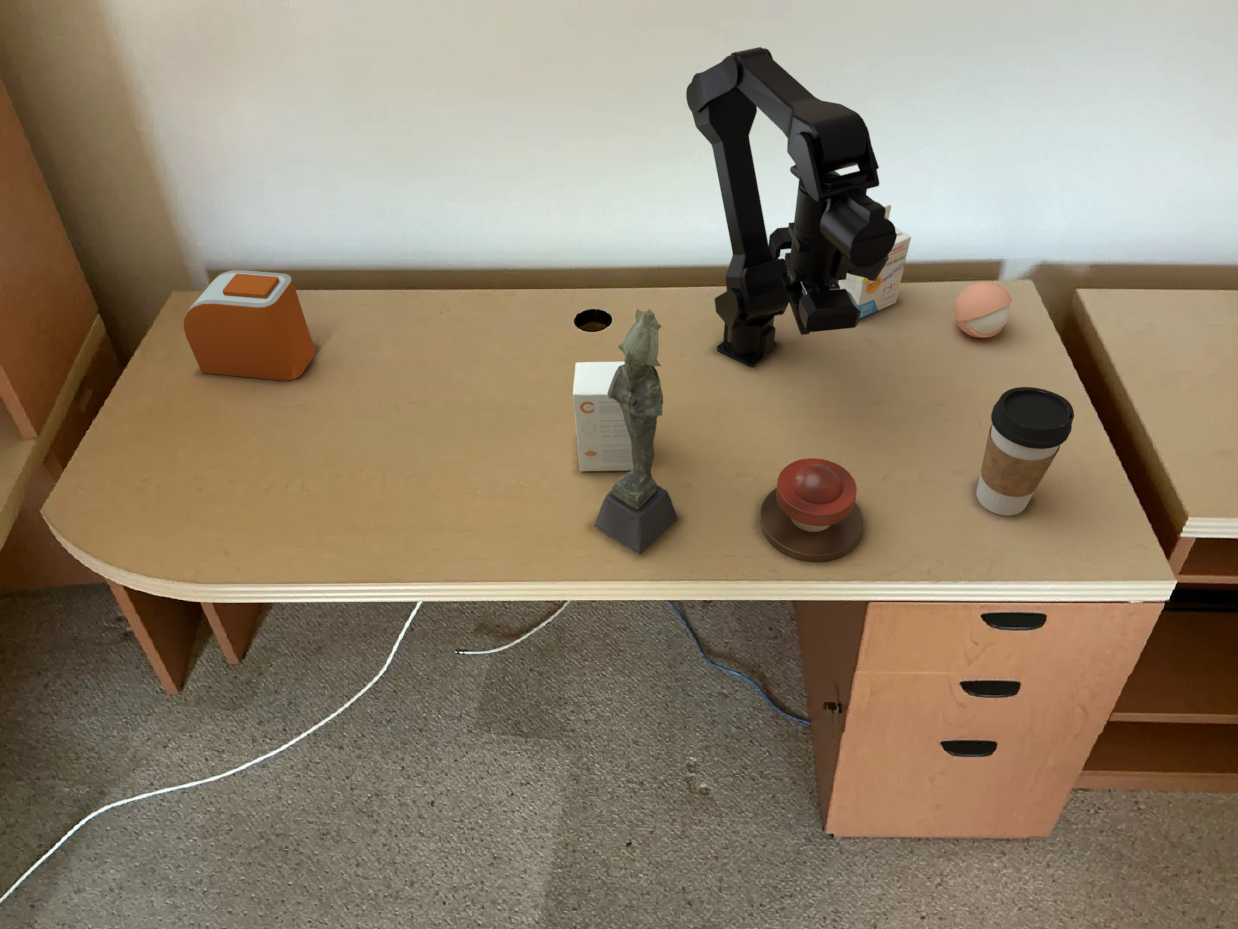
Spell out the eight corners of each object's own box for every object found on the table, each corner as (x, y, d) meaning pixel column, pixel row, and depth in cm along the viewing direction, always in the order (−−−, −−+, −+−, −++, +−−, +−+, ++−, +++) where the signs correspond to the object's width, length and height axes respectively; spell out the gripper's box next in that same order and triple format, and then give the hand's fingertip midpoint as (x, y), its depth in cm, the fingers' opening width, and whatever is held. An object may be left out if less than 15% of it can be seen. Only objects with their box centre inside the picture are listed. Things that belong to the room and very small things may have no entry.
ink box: (856, 322, 140) (872, 235, 129) (833, 306, 143) (847, 220, 132) (897, 303, 143) (916, 216, 132) (874, 287, 146) (891, 202, 135)
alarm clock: (320, 346, 139) (296, 268, 130) (297, 382, 133) (269, 303, 124) (228, 337, 141) (197, 260, 132) (201, 373, 136) (166, 295, 126)
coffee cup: (1027, 534, 110) (1066, 441, 99) (955, 506, 113) (987, 414, 103) (1045, 489, 115) (1085, 396, 104) (977, 464, 118) (1008, 372, 108)
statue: (593, 527, 113) (578, 324, 91) (633, 491, 117) (627, 289, 95) (639, 556, 109) (635, 352, 88) (679, 518, 113) (684, 314, 92)
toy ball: (977, 355, 134) (991, 309, 128) (936, 328, 138) (948, 283, 133) (1015, 335, 137) (1031, 289, 131) (974, 309, 141) (987, 264, 136)
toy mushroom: (740, 528, 112) (745, 477, 106) (794, 472, 118) (802, 421, 112) (827, 579, 106) (838, 527, 100) (880, 517, 112) (893, 465, 106)
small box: (642, 437, 123) (641, 359, 114) (642, 471, 119) (641, 393, 110) (580, 438, 124) (574, 360, 114) (578, 472, 119) (572, 394, 110)
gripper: (915, 260, 102) (890, 372, 113) (861, 177, 115) (844, 285, 126) (815, 270, 101) (800, 382, 112) (772, 186, 114) (762, 293, 125)
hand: (804, 332), depth 119 cm, fingers closed
